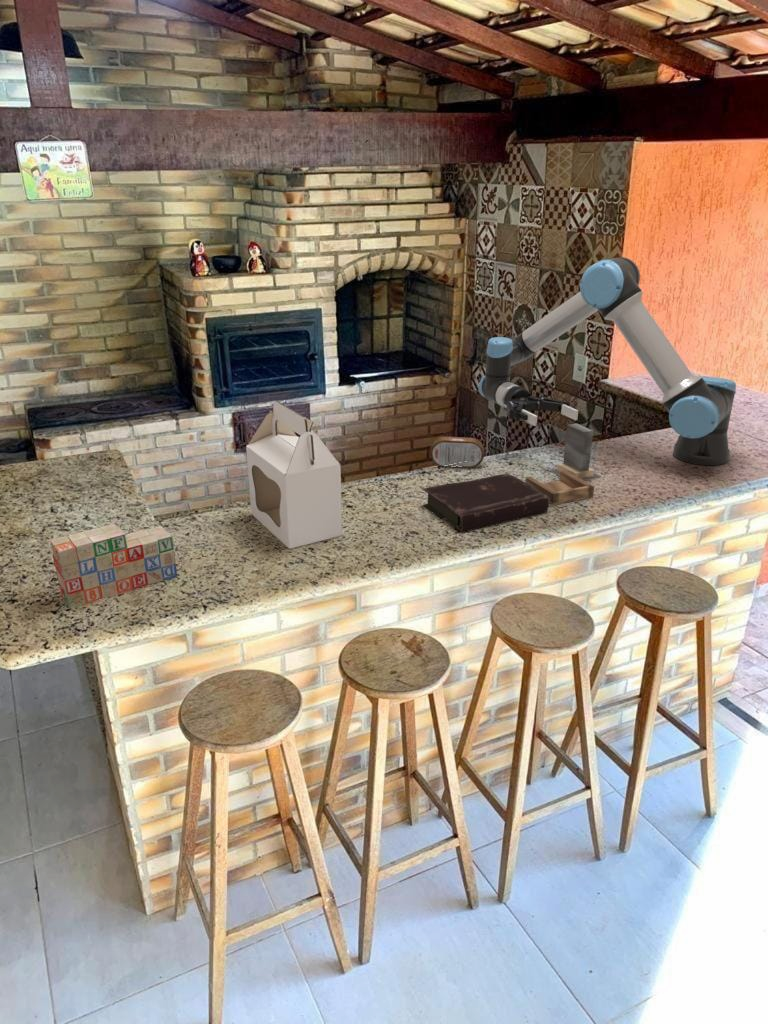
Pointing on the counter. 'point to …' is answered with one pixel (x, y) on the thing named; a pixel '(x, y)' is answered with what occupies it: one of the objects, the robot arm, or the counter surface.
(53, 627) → the counter surface
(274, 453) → the gable box
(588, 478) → the mat
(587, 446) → the grey tall block
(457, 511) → the diary
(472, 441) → the tin
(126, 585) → the stack of blocks
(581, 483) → the tray
